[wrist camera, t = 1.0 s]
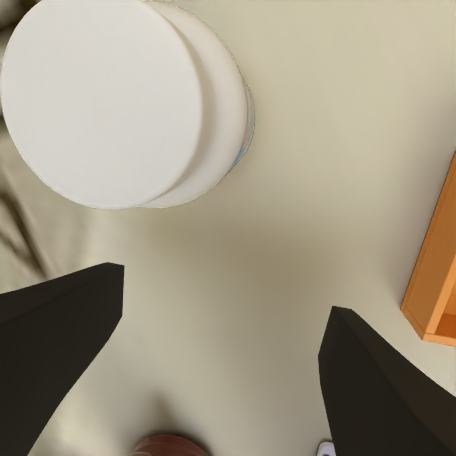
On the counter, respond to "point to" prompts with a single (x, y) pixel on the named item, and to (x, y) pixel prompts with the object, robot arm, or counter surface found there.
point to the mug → (167, 447)
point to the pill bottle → (124, 102)
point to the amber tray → (436, 273)
